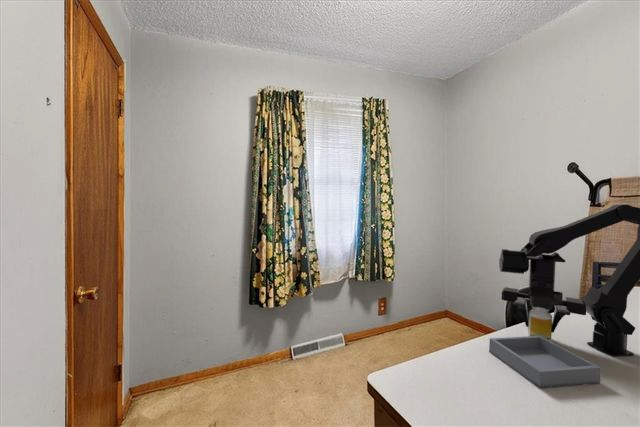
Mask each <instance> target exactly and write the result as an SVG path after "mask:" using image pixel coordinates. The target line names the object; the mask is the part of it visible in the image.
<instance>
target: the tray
mask: <svg viewBox="0 0 640 427" xmlns="http://www.w3.org/2000/svg"><path fill="white" fill-rule="evenodd" d="M488 348H489V350H488V351H489V353H490V354H491V355H493V356H494V357H495V358H497V359H498V360H500V361H501V362H503V363H504V364H505V365H507V366H508V367H509V368H511V369H512V371H513V370H514V371H515V372H516V373H518V374H519V375H520V376H522V377H523V378H524V379H526V380H527V381H528V382H530V383H531V384H532V385H534V386H535V387H537V388H538V389H550V388H551V389H552V388H554V389H555V388H563V387H565V388H566V387H577V386H590V385H600V384H601V375H602V374H601V370H602V368H601V367H600V366H599V365H596V364H595V363H593V362H592V361H589V360H587V359H585V358H583V357H581V356H580V355H579V354H578V355H577V354H576V353H574V352H572V351H570V350H569V349H566V348H564V347H562V346H561V345H559V344H557V343H554V342H553V341H552V340H551V341H549V340H547V339H545V338H543V337H541V336H528V335H526V336H514V337H513V336H511V337H510V336H509V337H490V338H489V346H488Z"/></svg>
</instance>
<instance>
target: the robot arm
mask: <svg viewBox="0 0 640 427" xmlns="http://www.w3.org/2000/svg"><path fill="white" fill-rule="evenodd" d="M621 222H627V223H631V224H635V225H638V227H637V232H636V235H637V236H636V240H635V241H634V243H633V244H632V246H631V248H630V249H629V250H628V251H627V253H626V254H625V256H624V257H623V258H622V260H621V262H620V263H619V264H618V266H617V267H616V268H615V270H614V271H613V272H612V274H611V275H610V277H609V278H608V279H607V281H606V282H605V284H603V285H602V286H600V287H599V288H598V287H597V288H596V287H593V286H590V287H589V288H588V291H587V293H586V294H585V295H584V296H582V299H581V298H575V297H567V296H566V297H564V298H565V299H563V295H564V294H563V292H562V291H556V290H555V282H556V264H557V263H566V259H564V258H563V257H562V256H561V255H560V254H559V253H558V252H557V251H559V250H561V249H562V248H564V247H565V246H566V247H567V246H568V244H569V243H571V242H572V241H574V240H576V239H578V238H581V237H584V236H586V235H590V234H591V233H594V232H597V231H601V230H602V229H605V228H607V227H610V226H613V225H616V224H618V223H621ZM528 239H529V240H528V242H527V243H526V244H525V245H524V246H523V247H522V248H521V249H520V250H510V249H506V248H505V249H504V248H502V249H501V253H500V257H499V259H498V260H499V261H498V263H499V264H498V265H499V266H498V267H499V272H500V273H510V274H519V275H524V273H527V272H528V271H529V280H528V281H529V284H528V293H523V292H519V289H518V288H512V287H508V286H507V287H506V286H505V287H504V288H503V289H502V291H501V298H500V299H501V300H502V301H506V302H510V303H511V302H512V303H513V305H514V306H518V308H519V310H520V312H521V315H522V317H523V320H524V324H525V327H527V328H528V317H529V311H528V304H527V303H528V302H529V305H530V306H531V308H532V307H540V308H545V309H547V310H549V311H551V310H553V308H554V312H553V316H552V333H551V334H553V333H554V332H555V330H556V328H557V326H558V325H559V323H560V321H561V320H562V319H563V318H564V316H570V315H571V314H573V315H574V314H575V315H580V316H587V313H588V314H589V316H590V318H591V319H592V320H593V321H595V324H593V325H594V326H593V332H592V341H587V342H586V344H587V345H588V346H590V347H592V348H595V349H597V350H599V351H600V352H603V353H605V354H607V355H610V356H612V357H621V356H623V357H624V356H625V357H626V356H634V355H635V354H634V352H633V351H631V350H629V349H628V335H629V336H632V335H633V334H634V332H635V330H636V326H634V325H633V324H631V323H630V321H629V320H627V319H626V318H625V317H624V316H625V313H626V310H627V308H628V296H630V295H629V294H630V293H631V291H633V289H635V286H636V285H637V284H638V282H639V281H640V207H636V206H632V205H630V204H613V205H612V206H610V207H608V208H606V209H604V210H600V211H598V212H595V213H593V214H590V215H588V216H586V217H583V218H581V219H577V220H575V221H573V222H570V223H568V224H565V225H563V226H559V227H554V228H547V229H543V230H539V231H535V232H534V233H532V234H531V235H530V236H529V238H528ZM553 306H554V307H553Z"/></svg>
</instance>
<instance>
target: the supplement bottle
mask: <svg viewBox="0 0 640 427" xmlns="http://www.w3.org/2000/svg"><path fill="white" fill-rule="evenodd" d="M552 321H553V316H552V314H551V313H550V310H547V309H545V308H540V307H532V306H531V309H530V310H529V311H528V327H527V336H541V337H543V338H545V339H547V340H549V341H551V342H552V334H553V333H552Z"/></svg>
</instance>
